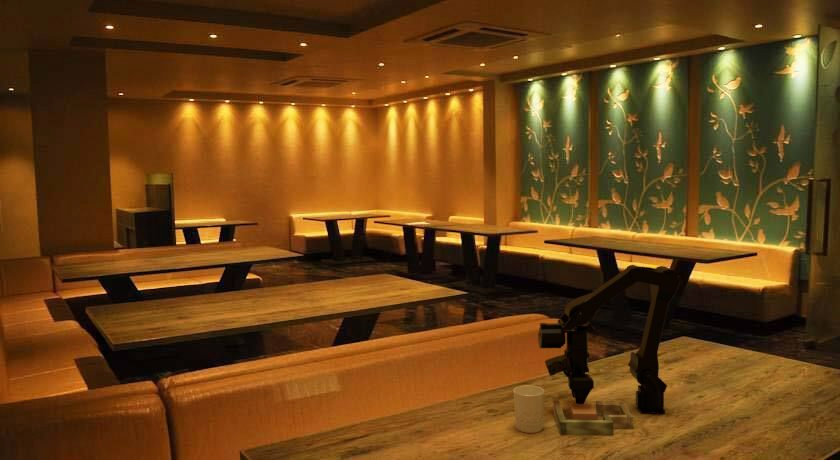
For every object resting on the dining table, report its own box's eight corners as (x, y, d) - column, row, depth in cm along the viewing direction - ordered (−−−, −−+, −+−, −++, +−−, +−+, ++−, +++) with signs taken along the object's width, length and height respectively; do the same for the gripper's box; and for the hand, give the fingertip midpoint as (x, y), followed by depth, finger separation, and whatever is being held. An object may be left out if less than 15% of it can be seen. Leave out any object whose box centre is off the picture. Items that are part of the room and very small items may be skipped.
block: (592, 418, 177) (592, 404, 177) (597, 429, 170) (597, 414, 170) (569, 418, 178) (569, 403, 177) (573, 428, 171) (573, 413, 170)
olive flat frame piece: (623, 411, 181) (623, 400, 181) (636, 435, 165) (637, 422, 165) (553, 411, 183) (553, 399, 182) (560, 434, 167) (560, 421, 167)
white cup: (544, 435, 167) (544, 396, 166) (512, 433, 168) (512, 394, 167) (544, 423, 174) (544, 386, 173) (514, 421, 176) (514, 384, 175)
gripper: (544, 338, 191) (543, 391, 192) (550, 357, 172) (550, 415, 174) (583, 338, 190) (583, 391, 191) (594, 357, 171) (593, 416, 173)
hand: (576, 403), depth 182 cm, fingers open, 8 cm apart
